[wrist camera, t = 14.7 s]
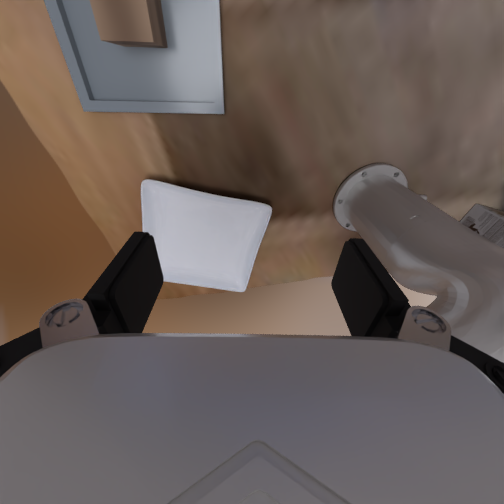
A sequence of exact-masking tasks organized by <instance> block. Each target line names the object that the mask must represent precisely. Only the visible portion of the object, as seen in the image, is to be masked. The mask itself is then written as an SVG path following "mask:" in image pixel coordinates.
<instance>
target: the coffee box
mask: <svg viewBox="0 0 504 504" xmlns="http://www.w3.org/2000/svg"><path fill="white" fill-rule="evenodd" d="M460 223H462V224H463V225H465V226H467V227H468V228H470V229H471V230H473V231H474V232H476V233H478V234H479V235H481V236H483V237H484V238H486V239H488V240H489V241H491V242H493V243H495V244H496V245H498V246H500V247H502V248H504V211H500V210H497V209H494V208H490V207H487V206H484V205H480V204H475V205H474V206H473V207H472V209H471V210H470V211H469V212H468V213H467V214H466V215H465V216H464V218H463V219H462V220H461V221H460Z"/></svg>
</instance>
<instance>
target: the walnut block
mask: <svg viewBox="0 0 504 504" xmlns="http://www.w3.org/2000/svg"><path fill="white" fill-rule="evenodd" d="M90 3H91V7H92V11H93V14H94V18H95V21H96V25H97V29H98V32H99V36H100V39H101V41H105V42H109V43H113V44H117V45H120V46H124V47H151V48H168V46H167V39H166V33H165V26H164V19H163V13H162V6H161V0H90Z"/></svg>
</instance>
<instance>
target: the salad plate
mask: <svg viewBox="0 0 504 504" xmlns="http://www.w3.org/2000/svg"><path fill="white" fill-rule="evenodd" d="M141 206H142V225H143V232H148V233H149V234H150V235H152V236H153V237H154V241H155V245H156V249H157V253H158V257H159V261H160V265H161V269H162V273H163V278H164V280H163V281H167V282H174V283H181V284H188V285H195V286H202V287H209V288H216V289H223V290H230V291H238V292H244V291H245V290H246V288H247V285H248V282H249V278H250V275H251V271H252V268H253V265H254V262H255V259H256V255H257V252H258V249H259V246H260V244H261V241H262V239H263V236H264V234H265V231H266V228H267V226H268V223H269V220H270V217H271V214H272V207H271V206H269V205H267V204H264V203H260V202H255V201H249V200H243V199H236V198H230V197H225V196H219V195H214V194H210V193H205V192H201V191H196V190H192V189H188V188H184V187H181V186H177V185H173V184H169V183H165V182H161V181H157V180H151V179H145V180H143V181H142V183H141Z"/></svg>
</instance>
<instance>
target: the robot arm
mask: <svg viewBox="0 0 504 504" xmlns="http://www.w3.org/2000/svg"><path fill="white" fill-rule="evenodd" d="M333 212H334V215H335V218H336V219H337V221H338V222H339V223H340V225H341V226H343V227H344V228H346V229H348V230H351V231H357V232H358V233H359V234H360V236H361V237H362V238H363V239H357V238H351V239H349V241H346V242H345V244H344V247H343V250H342V253H341V255H340V258H339V261H338V264H337V267H336V270H335V273H334V276H333V279H332V289H333V291H334V294H335V296H336V299H337V301H338V303H339V306H340V309H341V311H342V313H343V316H344V318H345V321H346V323H347V326H348V328H349V331H350V333H351V336H323V335H273V334H272V335H270V334H202V333H201V334H200V333H142V331H143V329H144V327H145V324H146V322H147V320H148V317H149V315H150V313H151V310H152V308H153V306H154V303H155V301H156V299H157V296H158V294H159V292H160V289H161V287H162V285H163V280H164V278H163V273H162V269H161V265H160V261H159V257H158V253H157V249H156V245H155V241H154V237H153V236H152V235H150V234H149V233H148V232H134V233H133V234H132V236H131V237H130V238H129V239H128V241H127V242H126V243H125V245H124V246H123V247H122V249H121V250H120V251H119V252H118V254H117V255H116V256H115V258H114V259H113V260H112V262H111V263H110V264H109V266H108V267H107V268H106V269H105V271H104V272H103V273H102V275H101V276H100V277H99V279H98V280H97V281H96V283H95V284H94V285H93V286H92V288H91V289H90V290H89V291H88V293H87V294H86V296H85V297H84V298H83V299H71V300H67V301H63V302H60V303H58V304H56V305H54V306H53V307H51V308H50V309H48V311H46V312H45V313H44V314H43V316H42V317H41V319H40V322H39V328H37V329H35V330H33V331H31V332H29V333H27V334H25V335H23V336H20V337H19V338H16V339H14V340H12V341H10V342H8V343H6V344H4V345H1V346H0V504H504V248H502V247H500V246H498V245H496V244H495V243H493V242H491V241H489V240H488V239H486V238H484V237H483V236H481V235H479V234H478V233H476V232H474V231H473V230H471V229H470V228H468V227H467V226H465V225H463V224H462V223H460V222H459V221H457V220H456V219H454V218H453V217H451V216H450V215H448V214H447V213H445V212H443V211H442V210H440V209H439V208H437V207H436V206H434V205H433V204H431V203H430V202H428V201H427V196H426V195H417V194H416V193H414V192H413V191H411V190H410V189H408V184H407V180H406V177H405V175H404V174H403V173H402V171H400V170H399V169H398V168H396V167H394V166H392V165H389V164H385V163H377V164H371V165H368V166H365V167H363V168H361V169H359V170H357V171H355V172H354V173H353V174H351V175H350V176H349V177H348V178H347V179H346V180H345V181H344V182H343V183H342V185H341V186H340V187H339V189H338V191H337V193H336V195H335V198H334V202H333ZM373 252H374V253H373ZM376 256H377V257H378V258H377V257H376ZM379 260H380V261H381V262H380V261H379ZM382 264H383V265H384V266H385V267H384V266H383V265H382ZM385 268H386V269H387V270H388V272H389V273H390V274H391V275H392V277H393V278H394V279H395V280H396V281H397V282H398V283H400V284H401V285H402V286H404V287H406V288H408V289H410V290H413V291H416V292H420V293H424V294H429V295H435V296H437V298H436V299H435V300H434V301H433V302H432V303H431V304H430V305H429V306H427V307H422V306H412V307H411V306H410V305H409V303H408V301H409V300H408V299H407V297H406V296H405V295H404V293H403V292H402V291H401V289H400V288H399V287H398V285H397V284H396V283H395V281H394V280H393V278H392V277H391V276H390V275H389V273H388V272H387V270H386V269H385Z"/></svg>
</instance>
